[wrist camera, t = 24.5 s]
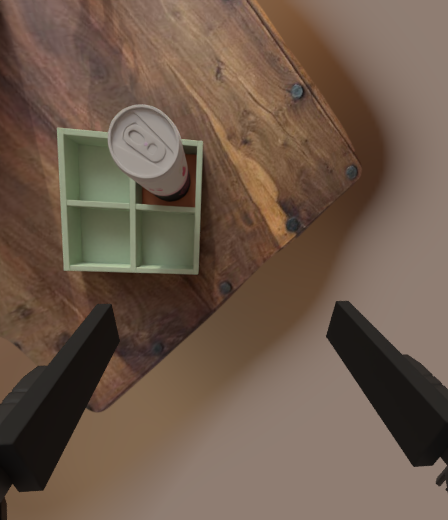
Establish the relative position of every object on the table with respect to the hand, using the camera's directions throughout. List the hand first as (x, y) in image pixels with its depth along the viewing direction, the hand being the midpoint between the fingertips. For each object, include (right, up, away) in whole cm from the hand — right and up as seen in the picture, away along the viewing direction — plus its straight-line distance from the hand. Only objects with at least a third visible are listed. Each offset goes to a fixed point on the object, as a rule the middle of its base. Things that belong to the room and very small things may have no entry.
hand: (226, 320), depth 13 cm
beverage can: (-9, +16, +21) cm, 28 cm away
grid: (-14, +12, +22) cm, 29 cm away
